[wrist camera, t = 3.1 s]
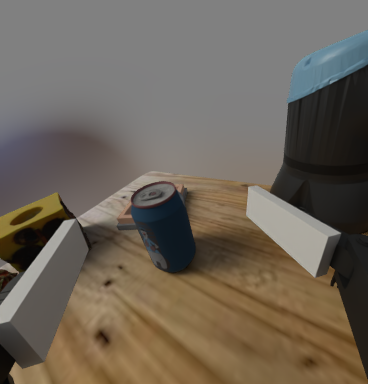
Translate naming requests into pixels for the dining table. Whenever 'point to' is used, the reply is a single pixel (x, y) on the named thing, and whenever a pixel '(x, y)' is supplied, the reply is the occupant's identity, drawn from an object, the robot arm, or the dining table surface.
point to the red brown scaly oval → (5, 278)
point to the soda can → (164, 225)
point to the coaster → (126, 218)
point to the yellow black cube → (32, 230)
